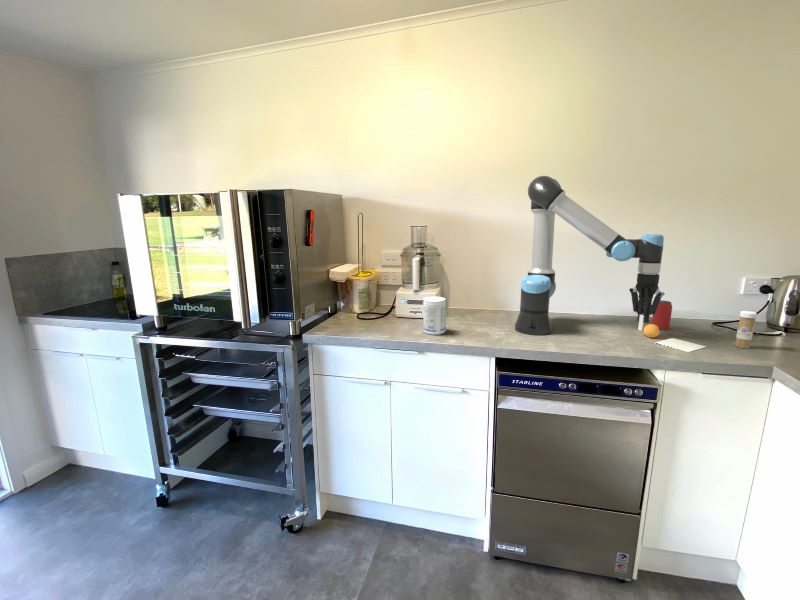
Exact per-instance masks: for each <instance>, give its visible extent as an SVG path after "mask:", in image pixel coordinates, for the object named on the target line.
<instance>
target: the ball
mask: <svg viewBox="0 0 800 600" xmlns="http://www.w3.org/2000/svg"><path fill="white" fill-rule="evenodd" d="M660 332H661V330H659V328H658V326H656V325H654V324H652V323H647V324H646V326H645V327H644V330H643V333H644V335H645V336H646V337H647V338H654V339H655V338H657V337H658V336H659V335H660Z"/></svg>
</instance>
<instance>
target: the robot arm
mask: <svg viewBox="0 0 800 600" xmlns="http://www.w3.org/2000/svg"><path fill="white" fill-rule="evenodd" d="M527 195H528V198H529V199H530V211H531V212H532V213H533V229H532V230H533V232H532V233H533V234H532V252H531V253H532V254H531V255H532V256H531V268H530V269H529V270H527V275H525V276H523V278H522V279H521V283H520V301H519V302H520V303H519V304H520V306H519V313H518V315H517V319H516V321H515V323H514V330H515V331H516V332H518V333H521V334H525V335H530V336H531V335H533V336H541V335H543V336H544V335H550V334H551V333H552V330H553V329H552V328H553V327H552V324H551V320H550V314H549V310H550V298H551V297H552V296H553V295H554V293H555V292H556V288H557V284H556V271H555V270H554V269H553V252H554V239H555V237H554V235H555V219H556V215H557V216H558V217H560V218H561V219H562V220H564V221H565V222H566V223H567V224H569V225H570V226H572V227H573V228H574V229H576V230H577V231H579V232H580V233H581V234H583V235H584V236H585V237H586V238H588V239H589V240H591V241H592V242H593V243H594V244H596V245H597V246H599V247H600V248H601V249H603V250H604V251H605V252H606V254H605V255H606V257H607V258H613V259H614V260H616V261H618V262H626V261H629V260H631V259H638V265H637V266H638V268H637V272H638V273H637V275H636V284H635V286H634V287H632V288H629V293H630V295H631V302H632V310H633V312H635V313H636V314H637V317H636V319H637V320H636V321H637V322H638V327H637V328H638V329H637V330H638V331H643V332H644V327H645V326H646V325H647V324H649V322H650V316H651V315H652V316H653V314H655V312H656V310H657V307H658V305H659V302H660V300H661V299H662V298H663V297H664V296H665V292H664V291H661V290H660V289H659V282H660V273H661V268H662V258H663V251H664V243H665V242H664V240H665V239H664V238H665V237H664V235H663V234H659V233H658V234H657V233H651V234H650V233H646V234H645V233H644V234H642V235H641V237H640V238H639V239H638V238H636V239H635V238H634V239H633V238H631V239H630V238H625V237H623V236H622V235H620V234H619V233H618V232H616V231H615V229H613V228H611V227H610V226H609V225H607V224H606V223H605V222H603V221H602V220H600V219H599V218H598V217H596V216H595V215H593V213H591V212H589V211H588V210H587V209H585V208H584V207H583V206H581V205H580V204H578V203H577V202H576V201H574V200H573V199H572V198H570V197H569V196H567V194H566V191H565V190H564V189H563V188H562V186H561V184H560V183H559V181H558V180H557V179H555V178H553V177H551V176H548V175H540V176H537V177H535V178H534V179H533V180H532V181H531V182H530V184H529V185H528V188H527ZM654 295H655V297H654Z"/></svg>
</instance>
